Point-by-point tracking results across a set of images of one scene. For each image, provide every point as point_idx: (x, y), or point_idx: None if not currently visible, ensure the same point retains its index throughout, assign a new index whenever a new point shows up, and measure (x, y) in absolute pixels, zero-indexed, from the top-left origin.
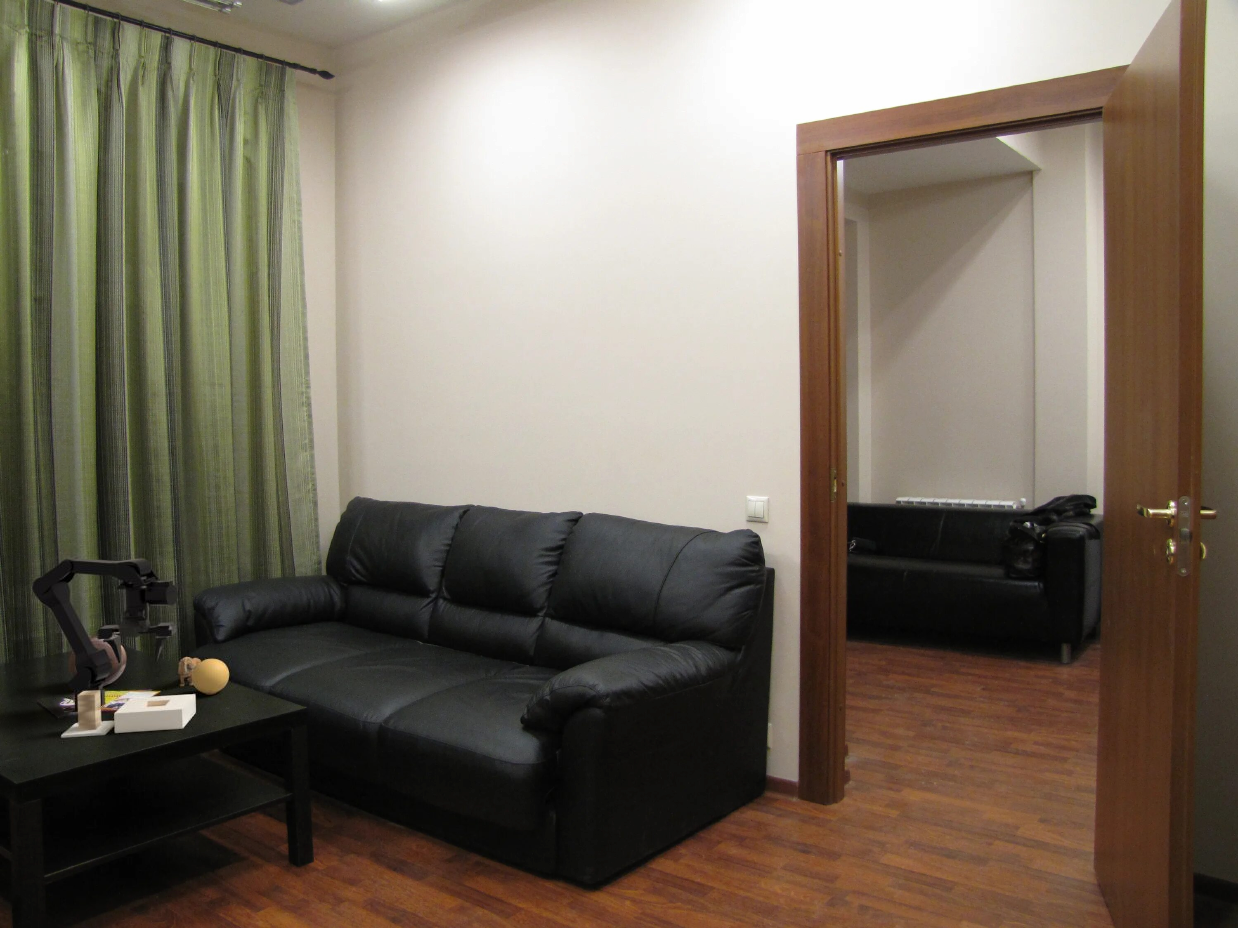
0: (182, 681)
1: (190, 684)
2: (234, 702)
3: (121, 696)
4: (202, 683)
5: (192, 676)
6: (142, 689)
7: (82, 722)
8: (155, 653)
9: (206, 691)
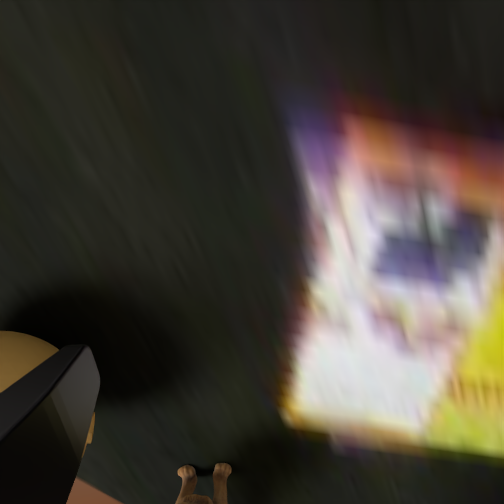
0: (218, 483)
1: (188, 468)
2: None
3: (443, 378)
4: None
5: None
6: (371, 448)
7: None
8: (1, 428)
9: (12, 331)
